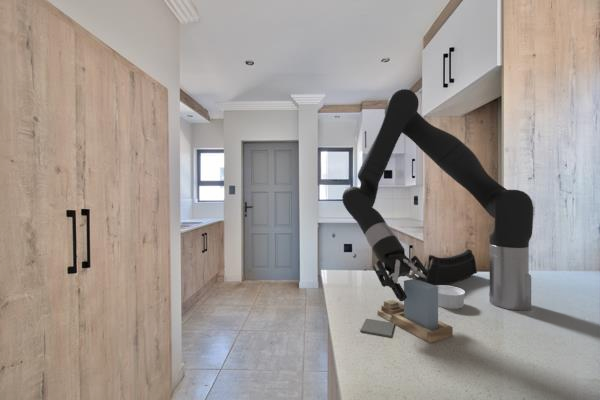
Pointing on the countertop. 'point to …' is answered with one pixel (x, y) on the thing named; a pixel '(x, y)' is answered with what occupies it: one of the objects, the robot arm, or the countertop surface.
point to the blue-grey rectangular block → (421, 303)
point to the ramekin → (450, 297)
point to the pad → (377, 327)
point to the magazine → (450, 268)
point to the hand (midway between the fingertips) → (417, 296)
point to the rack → (396, 315)
